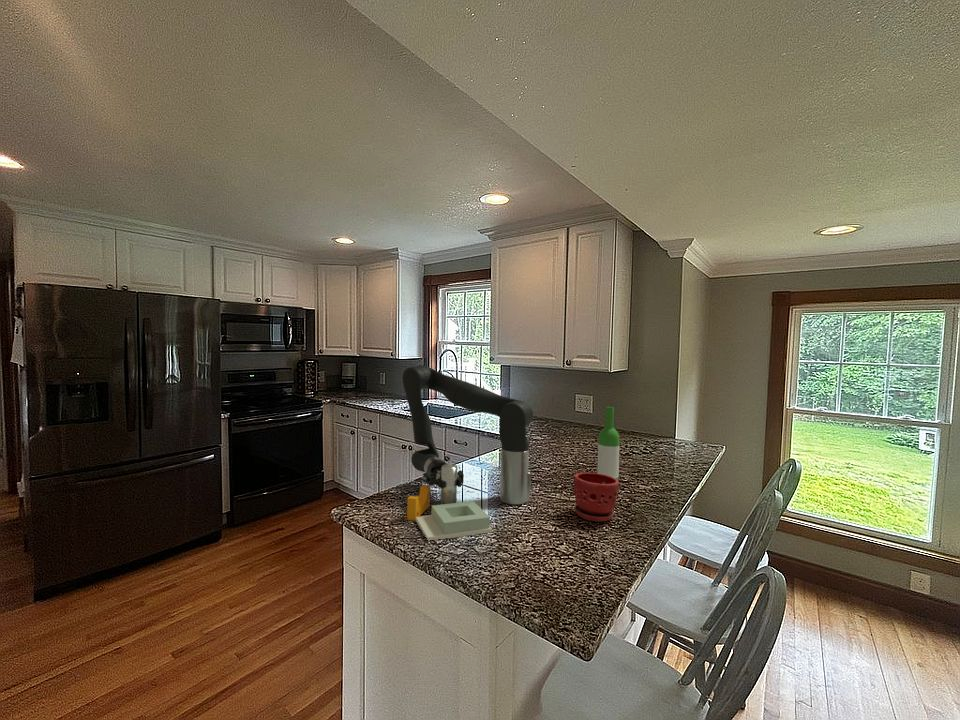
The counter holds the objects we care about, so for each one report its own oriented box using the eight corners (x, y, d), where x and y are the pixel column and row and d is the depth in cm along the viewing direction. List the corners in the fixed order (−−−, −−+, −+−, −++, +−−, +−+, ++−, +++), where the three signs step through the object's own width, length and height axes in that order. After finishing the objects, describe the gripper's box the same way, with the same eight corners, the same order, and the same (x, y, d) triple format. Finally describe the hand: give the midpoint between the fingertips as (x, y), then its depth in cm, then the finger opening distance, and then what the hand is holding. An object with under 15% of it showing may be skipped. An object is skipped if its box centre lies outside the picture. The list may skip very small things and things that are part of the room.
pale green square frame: (473, 513, 124) (474, 500, 124) (491, 532, 111) (492, 517, 111) (415, 520, 118) (416, 506, 118) (427, 541, 105) (428, 525, 105)
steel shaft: (453, 503, 132) (454, 463, 132) (458, 509, 127) (459, 467, 127) (438, 505, 130) (439, 464, 130) (443, 511, 125) (444, 469, 125)
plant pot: (605, 528, 116) (607, 487, 116) (565, 515, 125) (566, 476, 125) (624, 516, 126) (625, 477, 125) (585, 505, 134) (586, 469, 134)
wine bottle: (603, 480, 163) (606, 405, 163) (621, 484, 157) (624, 407, 157) (593, 483, 158) (595, 406, 158) (611, 488, 152) (614, 408, 152)
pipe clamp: (416, 505, 130) (417, 485, 130) (429, 506, 129) (429, 486, 129) (401, 519, 119) (401, 497, 119) (415, 521, 118) (415, 499, 118)
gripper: (417, 460, 139) (429, 474, 123) (456, 457, 145) (473, 470, 129) (416, 482, 139) (428, 499, 123) (456, 478, 145) (473, 494, 129)
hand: (451, 484), depth 126 cm, fingers closed on steel shaft, 5 cm apart
